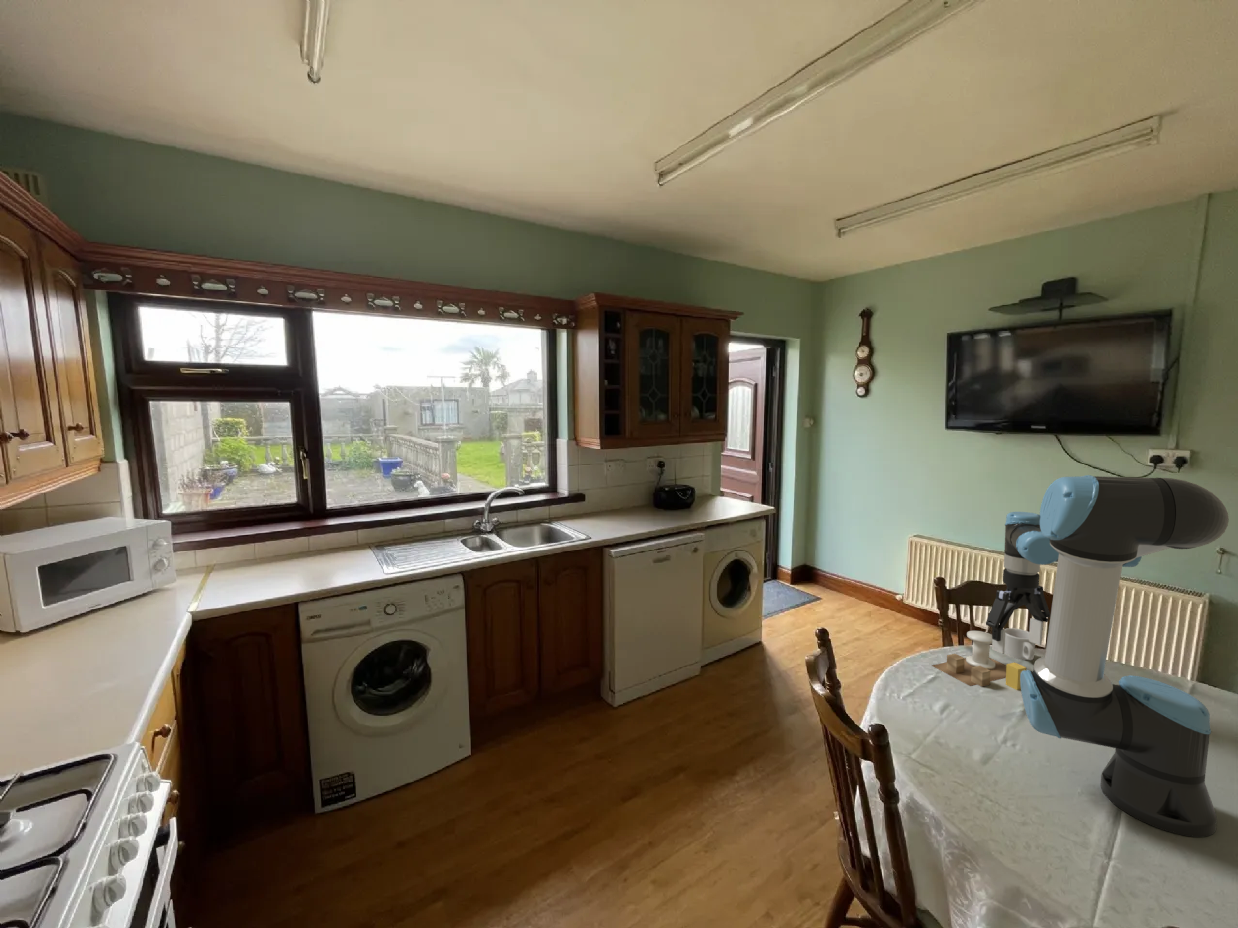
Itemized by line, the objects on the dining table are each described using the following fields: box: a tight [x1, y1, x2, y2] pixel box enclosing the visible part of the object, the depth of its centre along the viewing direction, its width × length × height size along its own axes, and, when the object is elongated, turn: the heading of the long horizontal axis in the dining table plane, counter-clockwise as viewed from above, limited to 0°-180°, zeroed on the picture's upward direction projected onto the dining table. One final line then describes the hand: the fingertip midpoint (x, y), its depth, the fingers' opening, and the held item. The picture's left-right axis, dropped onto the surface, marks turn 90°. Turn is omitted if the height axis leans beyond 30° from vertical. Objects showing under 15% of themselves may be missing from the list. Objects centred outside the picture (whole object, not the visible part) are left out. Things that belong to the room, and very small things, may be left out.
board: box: [931, 653, 1007, 688], centre depth 145 cm, size 13×20×5 cm, turn 107°
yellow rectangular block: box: [1005, 662, 1027, 691], centre depth 136 cm, size 3×3×7 cm
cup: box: [1004, 627, 1036, 661], centre depth 151 cm, size 11×8×8 cm
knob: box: [965, 630, 995, 670], centre depth 148 cm, size 7×7×9 cm
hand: (1016, 647), depth 135 cm, fingers open, 13 cm apart
